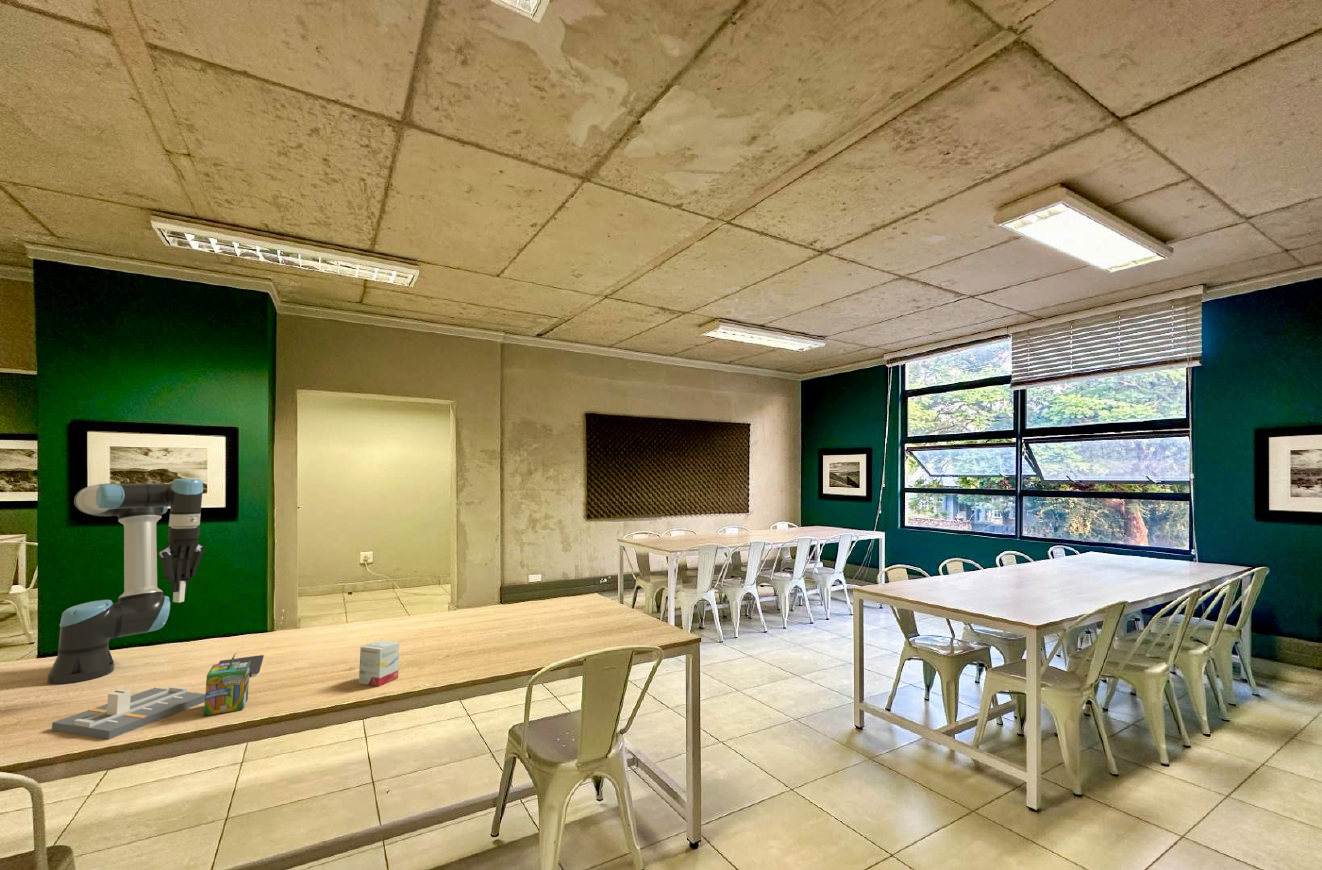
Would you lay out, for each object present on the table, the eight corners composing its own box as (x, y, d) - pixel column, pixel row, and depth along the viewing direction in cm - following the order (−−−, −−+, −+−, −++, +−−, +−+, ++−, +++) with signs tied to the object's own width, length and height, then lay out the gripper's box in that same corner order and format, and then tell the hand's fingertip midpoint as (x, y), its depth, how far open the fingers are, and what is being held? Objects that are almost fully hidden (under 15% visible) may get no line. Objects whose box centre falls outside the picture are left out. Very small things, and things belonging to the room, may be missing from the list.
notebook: (219, 665, 194) (210, 685, 176) (220, 660, 194) (210, 680, 176) (263, 659, 201) (258, 677, 183) (264, 654, 201) (259, 672, 183)
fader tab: (106, 714, 148) (108, 693, 149) (119, 709, 151) (121, 688, 152) (116, 716, 148) (118, 694, 148) (129, 711, 151) (131, 690, 151)
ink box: (399, 677, 183) (400, 641, 183) (378, 687, 175) (379, 649, 175) (379, 674, 185) (380, 638, 186) (357, 683, 177) (359, 646, 178)
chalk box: (209, 705, 160) (213, 653, 161) (248, 699, 165) (251, 648, 166) (202, 717, 152) (205, 662, 153) (243, 710, 157) (246, 657, 158)
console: (51, 730, 144) (52, 717, 144) (154, 694, 167) (155, 683, 167) (109, 739, 139) (110, 726, 139) (206, 701, 163) (206, 690, 163)
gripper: (170, 529, 168) (164, 607, 167) (214, 525, 181) (208, 598, 180) (152, 528, 170) (146, 605, 169) (197, 524, 183) (191, 596, 182)
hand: (178, 601), depth 174 cm, fingers closed
